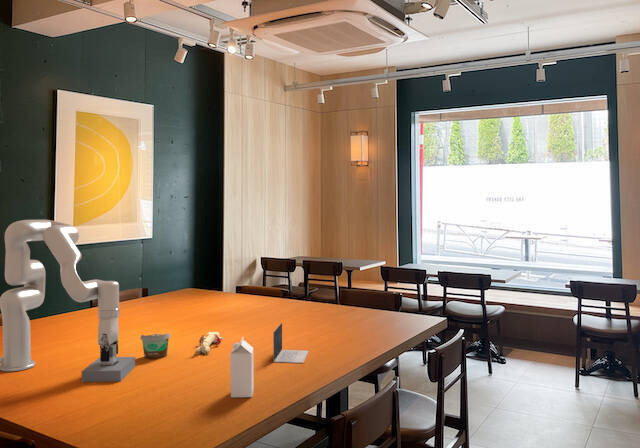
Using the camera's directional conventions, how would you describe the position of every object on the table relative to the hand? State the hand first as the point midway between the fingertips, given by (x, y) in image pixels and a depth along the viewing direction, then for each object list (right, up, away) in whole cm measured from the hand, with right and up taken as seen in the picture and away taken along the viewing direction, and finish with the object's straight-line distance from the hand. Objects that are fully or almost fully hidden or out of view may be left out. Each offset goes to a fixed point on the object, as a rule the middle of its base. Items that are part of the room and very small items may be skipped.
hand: (109, 357), depth 201 cm
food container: (+11, -6, +22) cm, 25 cm away
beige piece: (+30, -5, +39) cm, 49 cm away
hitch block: (0, -6, 0) cm, 6 cm away
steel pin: (0, -6, 0) cm, 6 cm away
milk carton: (+54, -7, -22) cm, 59 cm away
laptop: (+69, -6, +23) cm, 73 cm away
